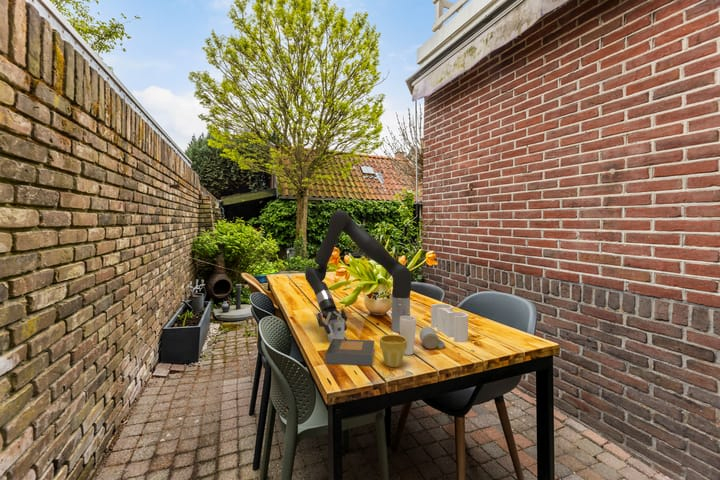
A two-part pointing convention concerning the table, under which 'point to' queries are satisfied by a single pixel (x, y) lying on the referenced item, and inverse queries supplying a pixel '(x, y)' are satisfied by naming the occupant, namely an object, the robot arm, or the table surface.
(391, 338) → the plant pot
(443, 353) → the table surface
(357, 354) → the steel plate
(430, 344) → the ceramic mug
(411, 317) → the white tube
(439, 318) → the bracket
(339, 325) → the aluminium block
